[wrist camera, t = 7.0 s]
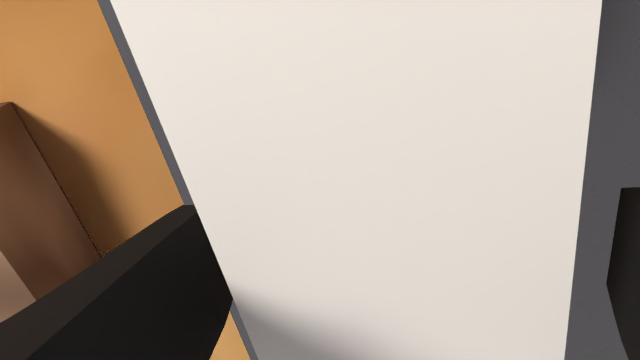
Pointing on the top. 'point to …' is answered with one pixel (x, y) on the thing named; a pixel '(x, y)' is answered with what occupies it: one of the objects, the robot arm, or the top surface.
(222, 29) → the board
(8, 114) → the brown rectangular block
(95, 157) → the top surface
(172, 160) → the plate
